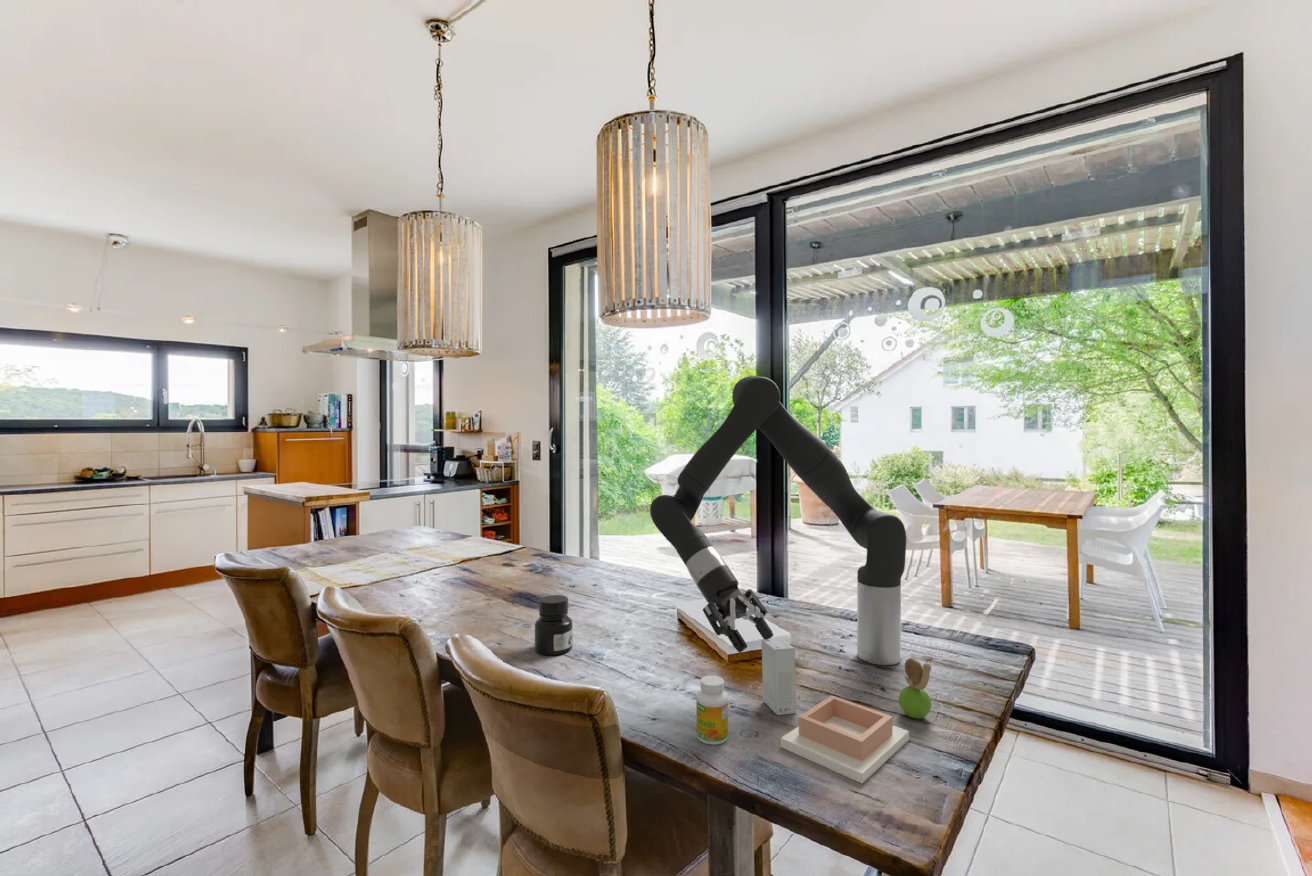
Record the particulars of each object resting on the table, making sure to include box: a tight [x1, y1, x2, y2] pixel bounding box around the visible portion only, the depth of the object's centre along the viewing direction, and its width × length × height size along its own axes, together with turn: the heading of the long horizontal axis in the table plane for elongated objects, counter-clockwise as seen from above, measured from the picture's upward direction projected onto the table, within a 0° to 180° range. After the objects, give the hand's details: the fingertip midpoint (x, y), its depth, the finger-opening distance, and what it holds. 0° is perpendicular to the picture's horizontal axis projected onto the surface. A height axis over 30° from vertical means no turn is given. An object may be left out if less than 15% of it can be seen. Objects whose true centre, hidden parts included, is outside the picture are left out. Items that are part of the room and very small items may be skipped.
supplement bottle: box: [695, 675, 729, 746], centre depth 99 cm, size 5×5×10 cm
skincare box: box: [760, 637, 797, 716], centre depth 110 cm, size 6×4×12 cm
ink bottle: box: [534, 594, 574, 656], centre depth 139 cm, size 10×9×12 cm
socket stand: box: [780, 694, 910, 784], centre depth 97 cm, size 17×14×4 cm
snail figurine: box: [898, 657, 933, 720], centre depth 105 cm, size 5×6×12 cm
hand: (757, 644), depth 113 cm, fingers open, 8 cm apart
